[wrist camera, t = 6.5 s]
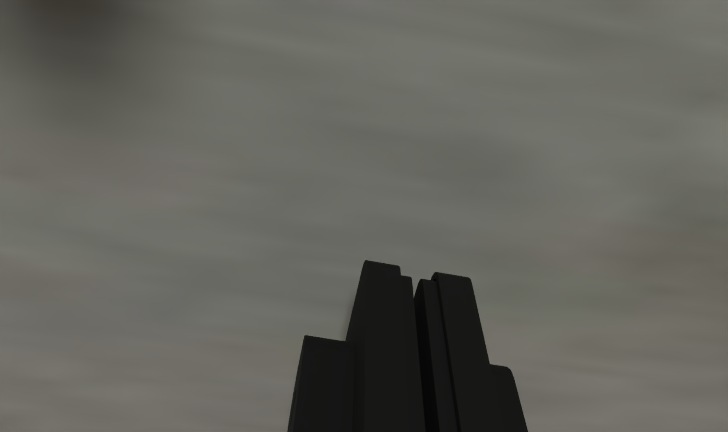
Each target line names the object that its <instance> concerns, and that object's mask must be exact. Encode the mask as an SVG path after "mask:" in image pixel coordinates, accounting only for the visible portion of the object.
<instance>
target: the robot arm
mask: <svg viewBox="0 0 728 432" xmlns="http://www.w3.org/2000/svg"><path fill="white" fill-rule="evenodd" d="M288 432H528V430H527V426H526V422H525V418H524V415H523V411H522V407H521V403H520V399H519V395H518V392H517V388H516V384H515V380H514V377H513V374H512V372H511V370H510V369H509V368H508V367H504V366H498V365H492V364H490V363H489V358H488V354H487V349H486V345H485V340H484V336H483V331H482V327H481V322H480V318H479V313H478V309H477V304H476V300H475V295H474V291H473V286H472V282H471V279H470V278H468V277H463V276H457V275H451V274H445V273H439V272H435V273H434V274H433V276H432V278H431V280H426V279H420V281H419V283H418V286H417V289H416V293H415V296H414V297H413V286H412V278H411V277H408V276H402V275H401V272H400V267H399V266H397V265H391V264H385V263H379V262H373V261H367V260H365V262H364V264H363V268H362V272H361V276H360V280H359V285H358V289H357V293H356V298H355V302H354V306H353V311H352V315H351V319H350V323H349V328H348V332H347V336H346V341H339V340H332V339H326V338H320V337H313V336H307V335H305V336H304V340H303V345H302V350H301V355H300V360H299V365H298V371H297V376H296V382H295V387H294V393H293V399H292V405H291V412H290V418H289V425H288Z"/></svg>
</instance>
